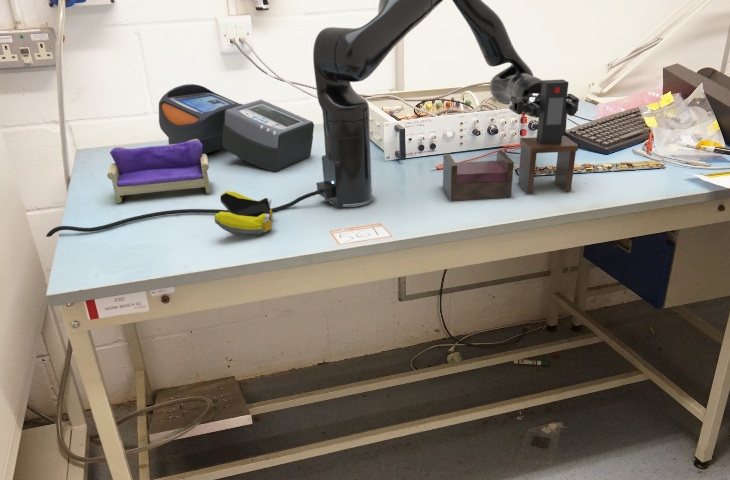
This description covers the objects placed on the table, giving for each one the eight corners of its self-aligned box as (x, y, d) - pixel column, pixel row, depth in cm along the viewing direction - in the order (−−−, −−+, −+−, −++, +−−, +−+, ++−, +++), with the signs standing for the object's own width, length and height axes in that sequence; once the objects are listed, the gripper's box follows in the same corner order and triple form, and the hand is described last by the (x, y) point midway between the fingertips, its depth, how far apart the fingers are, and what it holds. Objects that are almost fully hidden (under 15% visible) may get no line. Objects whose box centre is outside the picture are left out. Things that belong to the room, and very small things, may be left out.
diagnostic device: (146, 82, 159) (209, 68, 176) (148, 147, 170) (208, 128, 186) (269, 138, 148) (324, 118, 164) (263, 204, 158) (316, 178, 175)
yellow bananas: (217, 244, 119) (271, 240, 120) (212, 215, 117) (268, 212, 117) (224, 215, 132) (274, 212, 133) (220, 189, 129) (270, 186, 130)
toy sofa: (113, 204, 139) (101, 157, 134) (117, 192, 147) (106, 146, 141) (213, 194, 144) (205, 147, 138) (212, 182, 151) (204, 138, 145)
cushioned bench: (450, 201, 136) (451, 165, 132) (442, 187, 144) (443, 153, 140) (511, 197, 137) (513, 162, 133) (500, 184, 145) (502, 150, 141)
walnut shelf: (526, 195, 138) (531, 147, 133) (516, 183, 145) (520, 138, 140) (572, 192, 139) (578, 145, 134) (559, 180, 146) (565, 135, 141)
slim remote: (541, 144, 135) (547, 83, 129) (536, 140, 138) (542, 80, 132) (561, 143, 136) (568, 82, 129) (556, 139, 139) (563, 79, 132)
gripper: (501, 79, 143) (522, 93, 129) (564, 76, 144) (592, 90, 130) (498, 114, 147) (519, 132, 133) (560, 111, 148) (587, 128, 134)
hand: (555, 111), depth 132 cm, fingers open, 7 cm apart
